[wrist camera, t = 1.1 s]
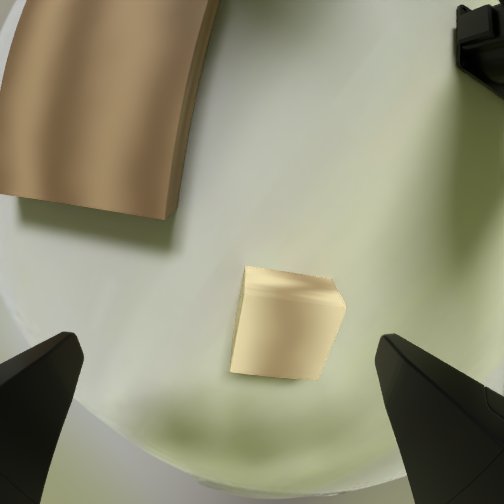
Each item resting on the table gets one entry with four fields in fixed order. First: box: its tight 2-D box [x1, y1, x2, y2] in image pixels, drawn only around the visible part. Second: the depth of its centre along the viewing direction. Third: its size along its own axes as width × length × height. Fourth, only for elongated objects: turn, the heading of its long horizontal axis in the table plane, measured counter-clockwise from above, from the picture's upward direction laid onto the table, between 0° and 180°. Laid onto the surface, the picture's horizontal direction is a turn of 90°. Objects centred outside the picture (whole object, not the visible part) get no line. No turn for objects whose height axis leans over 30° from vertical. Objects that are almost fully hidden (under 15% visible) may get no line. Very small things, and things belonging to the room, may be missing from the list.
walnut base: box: [0, 0, 220, 220], centre depth 14 cm, size 14×16×3 cm
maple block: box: [230, 266, 347, 380], centre depth 19 cm, size 6×6×4 cm
